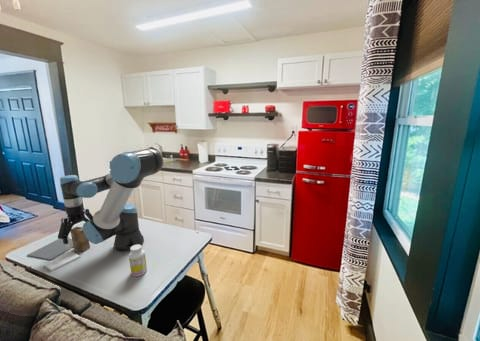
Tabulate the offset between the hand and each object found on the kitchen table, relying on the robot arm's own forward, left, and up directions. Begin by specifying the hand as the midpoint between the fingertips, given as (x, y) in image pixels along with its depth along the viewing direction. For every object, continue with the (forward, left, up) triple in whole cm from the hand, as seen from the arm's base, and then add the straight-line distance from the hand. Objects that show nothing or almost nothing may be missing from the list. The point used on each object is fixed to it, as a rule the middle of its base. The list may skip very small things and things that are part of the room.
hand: (80, 241), depth 124 cm
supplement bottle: (-43, +9, -4) cm, 44 cm away
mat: (+14, +3, -4) cm, 15 cm away
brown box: (0, 0, -4) cm, 4 cm away
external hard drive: (-1, +12, -5) cm, 13 cm away
